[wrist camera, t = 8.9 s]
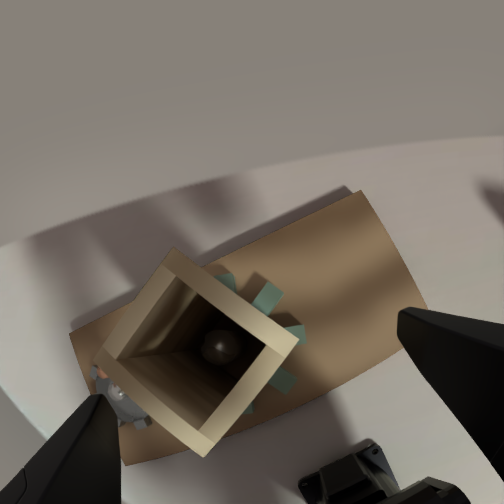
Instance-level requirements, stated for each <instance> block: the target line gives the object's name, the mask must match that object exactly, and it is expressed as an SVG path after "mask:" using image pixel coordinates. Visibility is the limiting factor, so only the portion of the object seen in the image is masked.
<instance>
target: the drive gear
mask: <svg viewBox="0 0 504 504" xmlns="http://www.w3.org/2000/svg"><path fill="white" fill-rule="evenodd" d="M89 376H90V377H92V378H93V379H95V380H96V391H97V393H96V394H99V393H102V394H104V395H105V396H106V398H107V400H108V401H109V403H110V404H111V406H112V408H113V409H114V411H115V412H116V415H117V418H118V427H121V426H123V425H125V424H126V422H133V423H134V425H135V427H136V429H137V430H140V429H143V428H146V427H148V426H150V425H152V424H153V423H152V421H151V419H150V417H149V414H147V413H146V412H145V411H144V410H143V409H142V408H141V407H139V406H138V405H137V404H136V403H135V402H134V401H133V400H132V399H131V398H130V397H129V396H128V395H126V394H125V393H124V392H123V391H122V390H121V389H120V388H119V387H118V386H117V385H116V384H115V383H114V382H113V381H112V380H111V379H110V378H109V377H108V376H107V375H106V374H105V373H104V372H103V371H102V370H101V369H100V368H99V367H98V366H97V365H92V368H91V371H90V375H89Z"/></svg>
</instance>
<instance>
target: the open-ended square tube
mask: <svg viewBox="0 0 504 504" xmlns="http://www.w3.org/2000/svg"><path fill="white" fill-rule="evenodd" d="M283 295H284V292H282V291H281V290H280V289H278V288H277V287H275V286H274V285H272V284H271V283H270V282H267V283H266V285H265V286H264V287H263V289H262V290H261V291H260V293H259V294H258V296H257V297H256V298H255V300H254V301H253V302H252V304H249V303H248V302H246V301H245V300H244V299H242V298H241V297H240V296H238V295H237V290H236V283H235V276H234V275H233V274H232V273H229V274H223V275H216V276H211V275H210V274H209V273H207V272H206V271H205V270H203V269H202V268H201V267H199V266H198V265H197V264H195V263H194V262H193V261H192V260H190V259H189V258H188V257H186V256H185V255H184V254H182V253H181V252H180V251H179V250H177V249H176V248H175V247H173V248H172V249H171V251H170V252H169V253H168V255H167V256H166V257H165V258H164V260H163V261H162V262H161V264H160V265H159V266H158V268H157V269H156V270H155V272H154V273H153V275H152V276H151V277H150V279H149V280H148V281H147V283H146V284H145V285H144V287H143V288H142V290H141V291H140V292H139V294H138V295H137V296H136V298H135V299H134V301H133V302H132V303H131V305H130V306H129V308H128V309H127V310H126V312H125V313H124V315H123V316H122V318H121V319H120V320H119V322H118V323H117V325H116V326H115V328H114V329H113V331H112V332H111V334H110V335H109V336H108V338H107V339H106V341H105V342H104V344H103V345H102V347H101V348H100V350H99V351H98V353H97V354H96V356H95V357H94V359H93V361H94V362H95V364H96V365H97V366H98V367H99V368H100V369H101V370H102V371H103V372H104V373H105V374H106V375H107V376H108V377H109V378H110V379H111V380H112V381H113V382H114V383H115V384H116V385H117V386H118V387H119V388H120V389H121V390H122V391H123V392H124V393H125V394H126V395H128V396H129V397H130V398H131V399H132V400H133V401H134V402H135V403H136V404H137V405H138V406H139V407H141V408H142V409H143V410H144V411H145V412H146V413H147V414H149V415H150V416H151V417H152V418H153V419H154V420H156V421H157V422H158V423H159V424H160V425H161V426H163V427H164V428H165V429H166V430H168V431H169V432H170V433H171V434H173V435H174V436H175V437H176V438H178V439H179V440H180V441H181V442H183V443H184V444H185V445H187V446H188V447H189V448H191V449H192V450H193V451H195V452H196V453H197V454H199V455H200V456H202V457H203V458H204V457H205V455H206V454H207V453H208V452H209V451H210V450H211V449H212V448H213V447H214V445H215V444H216V443H217V442H218V441H219V440H220V439H221V437H222V436H223V435H224V434H225V433H226V432H227V431H228V429H229V428H230V427H231V426H232V425H233V424H234V422H235V421H236V420H237V419H238V418H239V416H240V415H241V414H251V413H253V412H254V403H253V399H254V398H255V397H256V396H257V394H258V393H259V392H260V391H261V389H262V388H263V387H264V386H265V384H266V383H269V384H270V385H272V386H273V387H275V388H276V389H278V390H279V391H280V392H282V393H283V394H285V395H286V394H287V393H288V392H289V390H290V389H291V388H292V387H293V385H294V384H295V383H296V381H297V377H296V376H294V375H293V374H291V373H290V372H288V371H287V370H285V369H284V368H282V367H281V366H280V365H281V364H282V362H283V361H284V360H285V358H286V357H287V356H288V354H289V353H290V352H291V350H292V349H293V347H294V346H295V345H301V344H307V341H306V335H305V328H304V324H303V325H297V326H291V327H285V328H283V327H281V326H280V325H278V324H277V323H276V322H274V321H273V320H271V319H270V318H269V317H268V315H269V314H270V313H271V311H272V310H273V309H274V307H275V306H276V305H277V303H278V302H279V300H280V299H281V298H282V296H283ZM224 314H226V315H227V316H228V317H230V318H231V319H232V320H234V321H235V322H236V323H238V324H239V325H240V326H242V327H243V328H244V329H246V330H247V331H248V332H250V333H251V334H253V335H254V336H255V337H257V338H258V339H259V340H261V341H262V342H264V343H265V344H266V346H265V348H264V349H263V350H262V352H261V353H260V354H259V356H258V357H257V358H256V360H255V361H254V362H253V363H252V365H251V366H250V367H249V369H248V370H247V371H246V373H245V374H244V375H243V376H242V378H241V379H240V380H237V379H236V378H235V377H233V376H232V375H231V374H229V373H228V372H227V371H225V370H224V369H223V368H221V367H220V366H219V365H214V364H211V363H210V362H208V361H207V360H206V359H205V358H204V356H203V354H202V352H201V351H199V350H198V348H199V347H200V345H201V343H202V340H203V338H204V337H205V335H206V334H207V333H209V332H211V331H212V330H213V328H214V327H215V326H216V324H217V323H218V322H219V320H220V319H221V318H222V316H223V315H224Z"/></svg>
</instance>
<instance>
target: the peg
mask: <svg viewBox="0 0 504 504" xmlns="http://www.w3.org/2000/svg"><path fill="white" fill-rule="evenodd" d="M246 349H247V341H246V338H245V337H244V336H243V334H241V333H240V332H237V331H228V330H213V331H211V332H209V333H207V334H206V335H205V337H204V338H203V340H202V343H201V351H202V354H203V356H204V358H205V359H206V360H207V361H208V362H210V363H211V364H214V365H224V364H227V363H229V362H230V361H232V360H234V359H236V358H238V357H240V356H241V355H243V354H244V353H245V351H246Z"/></svg>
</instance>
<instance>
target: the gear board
mask: <svg viewBox="0 0 504 504" xmlns="http://www.w3.org/2000/svg"><path fill="white" fill-rule="evenodd" d="M201 268H202V269H203V270H205V271H206V272H207V273H209V274H210V275H211V276H216V275H223V274H229V273H232V274H233V275H234V276H235V283H236V290H237V295H238V296H240V297H241V298H242V299H244V300H245V301H246V302H248V303H249V304H252V302H253V301H254V300H255V298H256V297H257V296H258V294H259V293H260V291H261V290H262V289H263V287H264V286H265V285H266V283H267V282H270V283H271V284H272V285H274V286H275V287H277V288H278V289H280V290H281V291H282V292H284V295H283V296H282V298H281V299H280V300H279V302H278V303H277V305H276V306H275V307H274V309H273V310H272V311H271V313H270V314H269V315H268V317H269V318H270V319H271V320H273V321H274V322H276V323H277V324H278V325H280V326H281V327H283V328H285V327H291V326H297V325H303V324H304V328H305V335H306V341H307V344H301V345H295V346H294V347H293V349H292V350H291V352H290V353H289V354H288V356H287V357H286V358H285V360H284V361H283V362H282V364H281V365H280V366H281V367H282V368H284V369H285V370H287V371H288V372H290V373H291V374H293V375H294V376H296V377H297V381H296V383H295V384H294V385H293V387H292V388H291V389H290V390H289V392H288V393H287V394H286V395H285V394H283V393H282V392H280V391H279V390H278V389H276V388H275V387H273V386H272V385H270V384H269V383H266V384H265V386H264V387H263V388H262V389H261V391H260V392H259V393H258V394H257V396H256V397H255V398H254V399H253V403H254V412H253V413H251V414H241V415H240V416H239V418H238V419H237V420H236V421H235V422H234V424H233V425H232V426H231V427H230V428H229V429H228V431H227V432H226V433H225V434H224V435H223V436H222V437H221V439H222V438H224V437H227V436H230V435H232V434H235V433H238V432H240V431H243V430H246V429H248V428H251V427H253V426H256V425H258V424H260V423H263V422H265V421H268V420H270V419H272V418H274V417H277V416H279V415H281V414H284V413H286V412H288V411H290V410H292V409H294V408H297V407H299V406H301V405H303V404H305V403H307V402H309V401H311V400H313V399H315V398H317V397H319V396H321V395H323V394H325V393H327V392H329V391H331V390H333V389H335V388H336V387H338V386H340V385H342V384H344V383H346V382H348V381H349V380H351V379H353V378H355V377H356V376H358V375H360V374H362V373H363V372H365V371H367V370H369V369H370V368H372V367H374V366H375V365H377V364H379V363H380V362H382V361H383V360H385V359H387V358H388V357H390V356H391V355H393V354H395V353H396V352H398V351H399V350H401V349H402V348H404V347H403V346H402V344H401V343H400V341H399V339H398V337H397V317H398V312H399V311H400V310H402V309H404V308H407V307H410V306H411V307H416V308H421V309H426V310H428V308H427V306H426V304H425V302H424V300H423V298H422V296H421V294H420V292H419V290H418V288H417V286H416V284H415V282H414V280H413V278H412V276H411V274H410V272H409V270H408V268H407V267H406V265H405V263H404V261H403V259H402V257H401V256H400V254H399V252H398V250H397V248H396V247H395V245H394V243H393V241H392V240H391V238H390V236H389V234H388V233H387V231H386V229H385V228H384V226H383V224H382V223H381V221H380V219H379V218H378V216H377V214H376V213H375V211H374V209H373V208H372V206H371V205H370V203H369V201H368V200H367V198H366V197H365V195H364V194H363V192H362V191H361V190H360V191H357V192H355V193H353V194H351V195H349V196H347V197H345V198H343V199H341V200H339V201H337V202H335V203H333V204H330V205H328V206H326V207H324V208H322V209H320V210H318V211H316V212H314V213H312V214H310V215H308V216H306V217H304V218H301V219H299V220H297V221H295V222H293V223H291V224H289V225H287V226H285V227H283V228H281V229H279V230H277V231H275V232H273V233H271V234H269V235H267V236H264V237H262V238H260V239H258V240H256V241H254V242H252V243H250V244H248V245H246V246H244V247H242V248H240V249H238V250H236V251H234V252H232V253H230V254H228V255H226V256H224V257H222V258H220V259H218V260H215V261H213V262H211V263H209V264H207V265H205V266H203V267H201ZM131 303H132V302H131ZM131 303H129V304H127V305H125V306H123V307H121V308H119V309H117V310H115V311H113V312H111V313H109V314H107V315H105V316H103V317H101V318H99V319H97V320H95V321H93V322H91V323H89V324H87V325H85V326H83V327H81V328H79V329H77V330H75V331H73V332H71V333H69V336H70V339H71V342H72V345H73V348H74V351H75V354H76V357H77V360H78V363H79V365H80V368H81V371H82V373H83V376H84V379H85V381H86V384H87V386H88V389H89V391H90V394H91V395H92V394H96V393H97V391H96V380H95V379H93V378H92V377H90V376H89V375H90V371H91V368H92V365H96V364H95V362H94V361H93V359H94V357H95V356H96V354H97V353H98V351H99V350H100V348H101V347H102V345H103V344H104V342H105V341H106V339H107V338H108V336H109V335H110V334H111V332H112V331H113V329H114V328H115V326H116V325H117V323H118V322H119V320H120V319H121V318H122V316H123V315H124V313H125V312H126V310H127V309H128V308H129V306H130V305H131ZM213 330H228V331H237V332H240V333H241V334H243V336H244V337H245V338H246V341H247V349H246V351H245V353H244V354H243V355H241V356H240V357H238V358H236V359H234V360H232V361H230V362H229V363H227V364H224V365H219V366H220V367H221V368H223V369H224V370H225V371H227V372H228V373H229V374H231V375H232V376H233V377H235V378H236V379H237V380H240V379H241V378H242V376H243V375H244V374H245V373H246V371H247V370H248V369H249V367H250V366H251V365H252V363H253V362H254V361H255V360H256V358H257V357H258V356H259V354H260V353H261V352H262V350H263V349H264V348H265V346H266V344H265V343H264V342H262V341H261V340H259V339H258V338H257V337H255V336H254V335H253V334H251V333H250V332H248V331H247V330H246V329H244V328H243V327H242V326H240V325H239V324H238V323H236V322H235V321H234V320H232V319H231V318H230V317H228V316H227V315H226V314H224V315H223V316H222V318H221V319H220V320H219V322H218V323H217V324H216V326H215V327H214V328H213ZM213 330H212V331H213ZM198 350H199V351H201V345H200V347H199V348H198ZM201 352H202V351H201ZM149 417H150V419H151V421H152V423H153V424H152V425H150V426H148V427H146V428H143V429H140V430H137V429H136V427H135V425H134V423H133V422H126V424H125V425H123V426H121V427H118V432H119V445H120V456H121V459H122V460H123V462H124V464H125V466H128V465H133V464H137V463H141V462H145V461H149V460H153V459H157V458H161V457H165V456H168V455H172V454H175V453H179V452H182V451H185V450H189V449H191V448H189V447H188V446H187V445H185V444H184V443H183V442H181V441H180V440H179V439H178V438H176V437H175V436H174V435H173V434H171V433H170V432H169V431H168V430H166V429H165V428H164V427H163V426H161V425H160V424H159V423H158V422H157V421H156V420H154V419H153V418H152V417H151V416H150V415H149Z"/></svg>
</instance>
